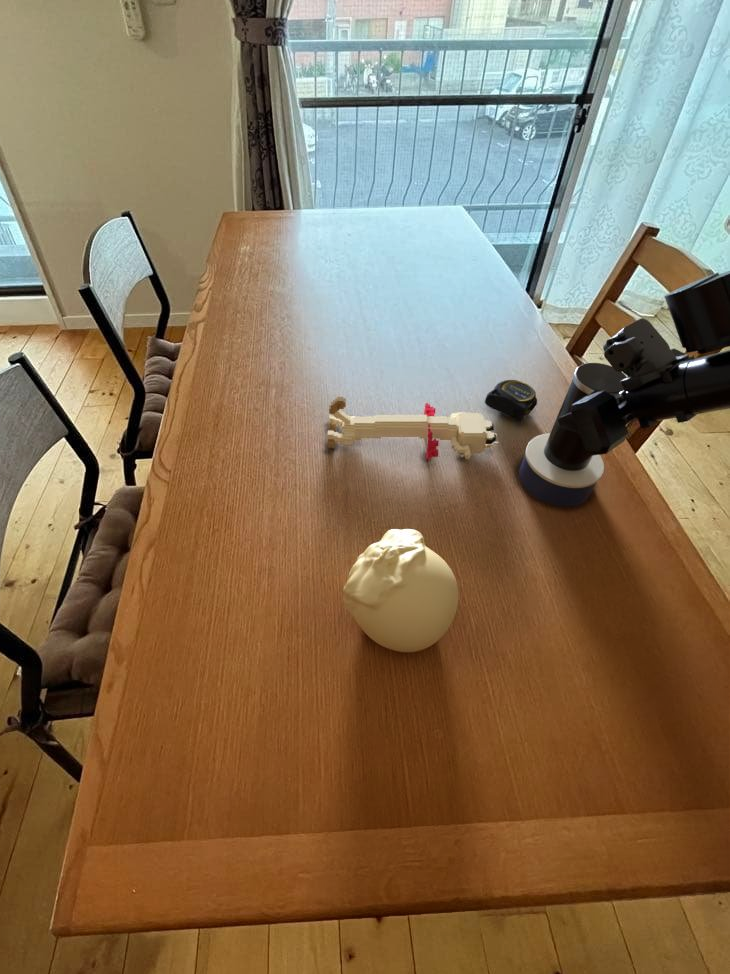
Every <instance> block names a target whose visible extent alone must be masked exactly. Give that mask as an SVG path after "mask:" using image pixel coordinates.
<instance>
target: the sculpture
mask: <svg viewBox="0 0 730 974" xmlns="http://www.w3.org/2000/svg"><path fill="white" fill-rule="evenodd" d="M342 590H343V599H342V602H343V603H344V608H345V610H346V611H347V612H348V613H349V614H350V615H351V616H352V618H353V619H354V621H355V622H356V624H357V625H358V626H359V628H360V629H361V630H362V631H363V632H364V633H365V635H366V636H368V638H370V639H371V640H372V641H373V642H375V643H376V644H378V645H380V646H382V647H383V648H386V649H388V650H390V651H394V652H399V653H415V652H420V651H423V650H425V649H428V648H429V647H432V646H433V645H435V643H437V642H438V641H439V640H441V638H442V637H443V636H444V635H445V634H446V633H447V631H448V630H449V628H450V627H451V625H452V623H453V622H454V619H455V616H456V613H457V611H458V610H457V609H458V606H459V588H458V583H457V580H456V576H455V574H454V572H453V570H452V569H451V567H450V566H449V564H448V563H447V562H446V560H444V559H443V558H442V557H441V556H440V555H438V553H436V552H435V551H433V550H432V549H431V548H430V547H427V546H426V543H425V539H424V536H423V534H422V533H421V532H420V531H418V530H416V529H411V528H403V529H400V528H399V529H398V528H392V529H389V530H387V531H386V532H385V533H384V534H383V536H382V537H381V539H380V540H379V541H377V542H374V543H372V544H370V545H368V546H367V547H366V549H365V550H364V551H363V552H362V553H360V554H359V555H358V557H357V558H356V561H355V562H354V564H353V565H352V566H351V569H350V571H349V574H348V576H347V582H346V584H345V585H344V586H343V589H342Z"/></svg>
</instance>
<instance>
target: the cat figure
mask: <svg viewBox="0 0 730 974" xmlns="http://www.w3.org/2000/svg"><path fill="white" fill-rule="evenodd" d="M346 405H347V399H346V397H345V398H344V396H337V397H336V398H334V399H333V400H332V401H331V402H330V404H329V405H328V414H329V417H328V422H329V424H328V425H329V426H328V428H329V430H327V449H335V448H336V443H341V444H343V445H344V446H353V445H354V444H355V442H356V441H361V440H362V439H382V438H419V439H427V441H426V443H427V444H426V452H425V459H426V461H429V460H430V459H433V458H439V449H438V448H437V447H439V445H440V443H439V442H440V441H450V442H451V448H452V449H453V450H454V452H456V453H458V454H460V453H461V455H460V457H461V458H465V460H469V459H471V457H472V456H473V454H480V453H482V452H483V451H485V448H486V449H487V448H488V449H489V448H491V447H494V445H497V446H498V445H499V441H497V433H494V432H493V431H494V430H495V429H494V428H495V425H494V423H493V422H492V421H490V419H489V420H487V419H485V417H484V416H485V415H483V414H482V413H480V412H465V411H459V412H452V413H450V416H448V415H447V416H445V415H444V416H443V415H439V416H438V415H436V416H435V414H436V407H434V406H431V404H430V403H428V402H426V403H424V409H423V414H375V415H374V416H370V415H369V416H359V415H358V416H357V415H349V414H347V412H345V411H343V410H345V409H344V408H346ZM337 427H341V431H342V432H341V433H339V432H338V431H337ZM438 439H439V440H438Z"/></svg>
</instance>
